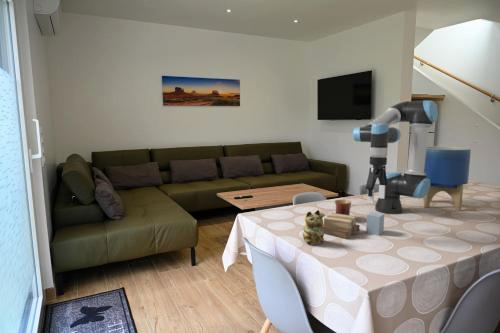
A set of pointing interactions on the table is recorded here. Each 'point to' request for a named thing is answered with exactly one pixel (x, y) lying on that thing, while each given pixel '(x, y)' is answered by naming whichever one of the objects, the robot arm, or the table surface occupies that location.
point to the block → (375, 223)
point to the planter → (447, 172)
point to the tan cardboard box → (340, 231)
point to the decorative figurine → (313, 227)
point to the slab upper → (340, 221)
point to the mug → (343, 207)
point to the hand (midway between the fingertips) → (376, 200)
